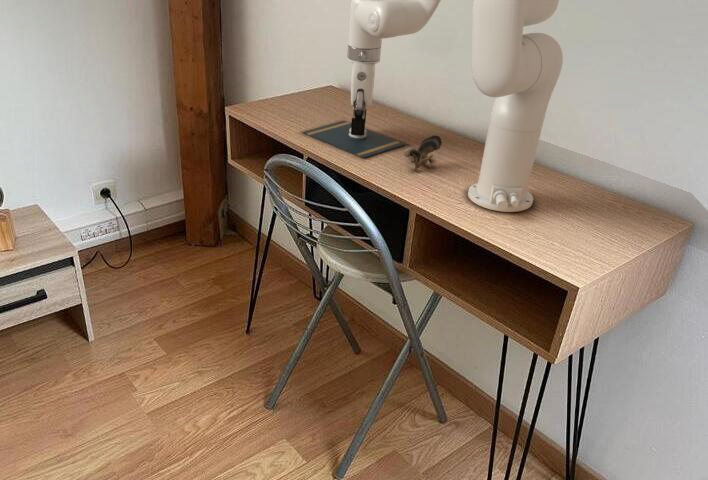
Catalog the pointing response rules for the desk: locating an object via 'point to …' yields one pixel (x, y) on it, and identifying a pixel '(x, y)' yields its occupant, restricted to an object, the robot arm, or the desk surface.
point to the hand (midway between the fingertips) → (358, 128)
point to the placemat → (353, 140)
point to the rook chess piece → (358, 135)
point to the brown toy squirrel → (424, 151)
